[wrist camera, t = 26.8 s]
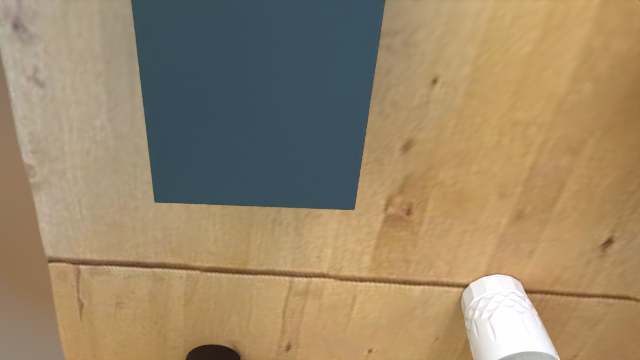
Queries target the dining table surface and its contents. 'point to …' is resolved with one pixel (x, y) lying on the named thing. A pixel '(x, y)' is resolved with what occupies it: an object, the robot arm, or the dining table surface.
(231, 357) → the coffee mug
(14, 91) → the dining table surface
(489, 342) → the white cup
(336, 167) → the tin lid
